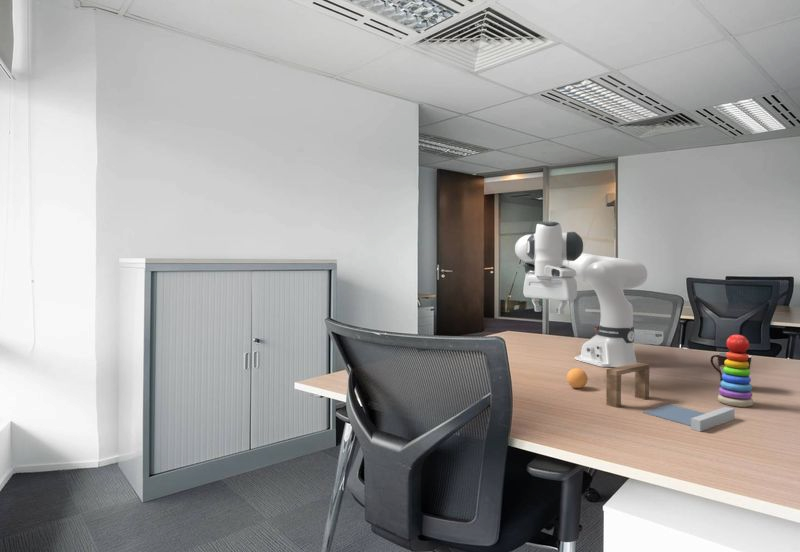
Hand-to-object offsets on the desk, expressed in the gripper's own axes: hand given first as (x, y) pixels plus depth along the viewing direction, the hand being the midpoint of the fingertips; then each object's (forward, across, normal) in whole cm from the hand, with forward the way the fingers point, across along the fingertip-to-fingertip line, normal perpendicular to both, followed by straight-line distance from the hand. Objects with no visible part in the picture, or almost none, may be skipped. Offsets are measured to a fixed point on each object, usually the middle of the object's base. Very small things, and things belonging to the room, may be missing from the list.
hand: (548, 312), depth 159 cm
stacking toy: (+22, +46, +22) cm, 55 cm away
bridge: (+22, +29, 0) cm, 37 cm away
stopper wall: (+22, +51, 0) cm, 56 cm away
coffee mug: (+22, +36, +40) cm, 58 cm away
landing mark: (+22, +43, 0) cm, 49 cm away
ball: (+19, +12, -1) cm, 23 cm away
